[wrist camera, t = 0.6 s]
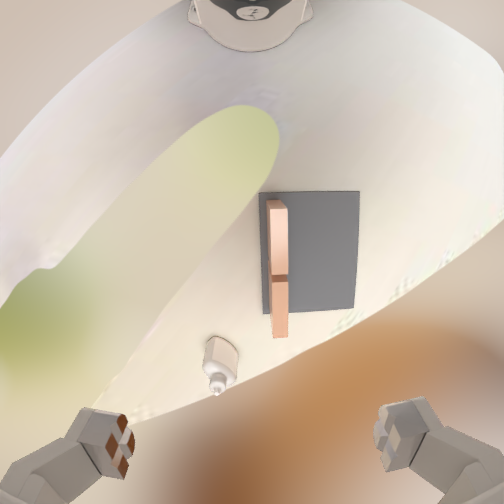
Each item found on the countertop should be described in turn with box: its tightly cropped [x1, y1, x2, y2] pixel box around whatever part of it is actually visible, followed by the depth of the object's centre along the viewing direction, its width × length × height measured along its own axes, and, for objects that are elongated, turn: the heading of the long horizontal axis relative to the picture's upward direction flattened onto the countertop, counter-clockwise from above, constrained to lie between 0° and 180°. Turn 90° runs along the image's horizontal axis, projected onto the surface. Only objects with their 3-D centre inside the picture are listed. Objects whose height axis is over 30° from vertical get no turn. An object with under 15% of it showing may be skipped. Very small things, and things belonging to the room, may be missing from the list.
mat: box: [259, 191, 360, 314], centre depth 47 cm, size 19×15×1 cm
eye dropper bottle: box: [202, 336, 238, 396], centre depth 46 cm, size 4×6×12 cm
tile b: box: [268, 260, 288, 338], centre depth 44 cm, size 8×2×9 cm, turn 2°
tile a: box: [266, 200, 288, 275], centre depth 41 cm, size 8×2×9 cm, turn 2°
